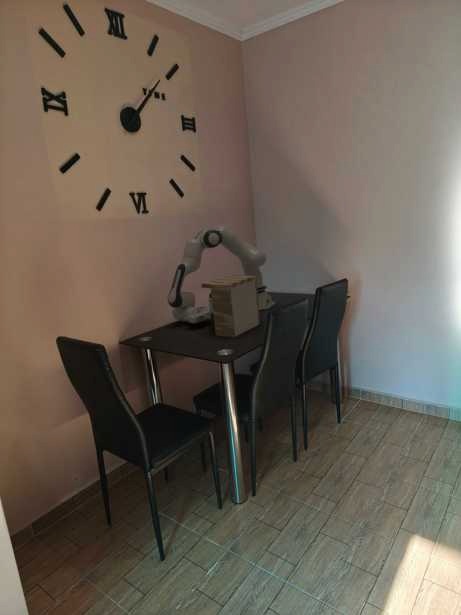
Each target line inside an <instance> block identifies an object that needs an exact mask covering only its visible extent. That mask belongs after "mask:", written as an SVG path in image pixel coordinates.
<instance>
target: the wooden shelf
mask: <svg viewBox="0 0 461 615" xmlns="http://www.w3.org/2000/svg"><path fill="white" fill-rule="evenodd" d="M200 285H201V288H203V289H210V293H211V297H212V306H213V315H214V324H215V329H214V331H215V332H214V333H215V336H218V337H220V336H221V337H226V338H235V337H238V336H240V335H242V334H244V333H245V332H247V331H250V330H251V329H254V328H255V327H257V326H259V325H261V318H260V317H261V316H260V310H259V304H258V292H257V281H256V276H245V274H244V275H241V274H240V275H238V274H237V275H235V274H234V275H232V274H231V275H230V274H229V275H227V276H224V277H220V278H217V279H213V280H210V281H207V282H204V283H203V282H202V283H201V284H200Z"/></svg>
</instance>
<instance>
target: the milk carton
mask: <svg viewBox="0 0 461 615" xmlns="http://www.w3.org/2000/svg"><path fill="white" fill-rule="evenodd" d="M208 297H209V298H208V308H210V315H211V319H210V321H211V322H210V323H211V328H212V330H215V324H214V315H213V306H212V297H211V292H210V293H208Z"/></svg>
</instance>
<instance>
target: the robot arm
mask: <svg viewBox="0 0 461 615" xmlns="http://www.w3.org/2000/svg"><path fill="white" fill-rule="evenodd" d="M219 245H222V246H223V247H224V248H225V250H228V251H229V252H231V253H232V254H233V255H234V256H236V257H238V258H239V262H240V263H241V266H242V270H243V273H244V275H245V276H256V281H257V292H258V304H259V311H260V310H267V309H268V310H269V309H271V307H273V306H274V305H276V302H275V301H273V300H272V296H271V295H270V294H269V293H267V291H266V290H265V289H267V288H268V286H267V285H264V280H263V279H264V278H263V274H262V272H261V270H260V267H261V266H263V265H265V263H266V261H267V256H266V254H265V252H263V251H262V250H260V249H258V248H257V247H256V246H254V245H252V244H251V243H249V242H248V241H246V240H245V239H244V238H242V237H241V236H239V235H238V234H237V233H236V232H235V231H234V230H232V229H230V228H228V227H227V226H225V225H220V226H218V227H216V229H215V230H214V229H207V230H202V231H200V232H198V233H197V235H196V236H195V237H194V238H189V239H188V240H187V241H186V244H185V247H184V251H183V255H182V260H181V263H180V264H179V265H178V266H177V268H176V271H175V273H174V276H173V281H172V284H171V288H170V290H169V293H168V295H167V298H166V299H167V303H168V305H169V306H170V307H171V308H172V312H171V313H172V317H173V318H174V319H175V320H177V321H180V322H188V323H191V324H198V323H200V322H203V321H205V320H207V319H210V320H211V315H210V307H206V306H198V307H197V306H196V296H195V295H194V293H193V292H190V291H182V288H183V285H184V281H185V278H186V277H187V276H188V275H190V274H191V273H195V272H197V271H198V269H200V267H201V263H202V262H201V261H202V257H203V256H202V255H203V251H205V249H214V248H216V247H218V246H219Z"/></svg>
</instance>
